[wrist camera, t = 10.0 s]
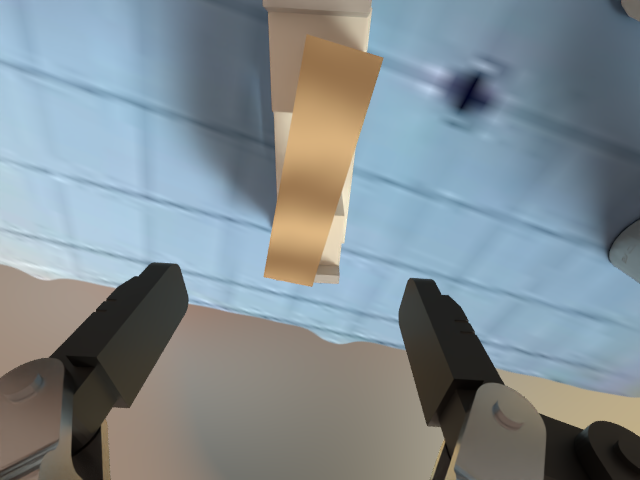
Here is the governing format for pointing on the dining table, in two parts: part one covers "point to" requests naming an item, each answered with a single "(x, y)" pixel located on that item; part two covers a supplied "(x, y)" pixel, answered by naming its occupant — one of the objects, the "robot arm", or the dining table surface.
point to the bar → (318, 154)
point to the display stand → (285, 62)
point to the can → (632, 8)
